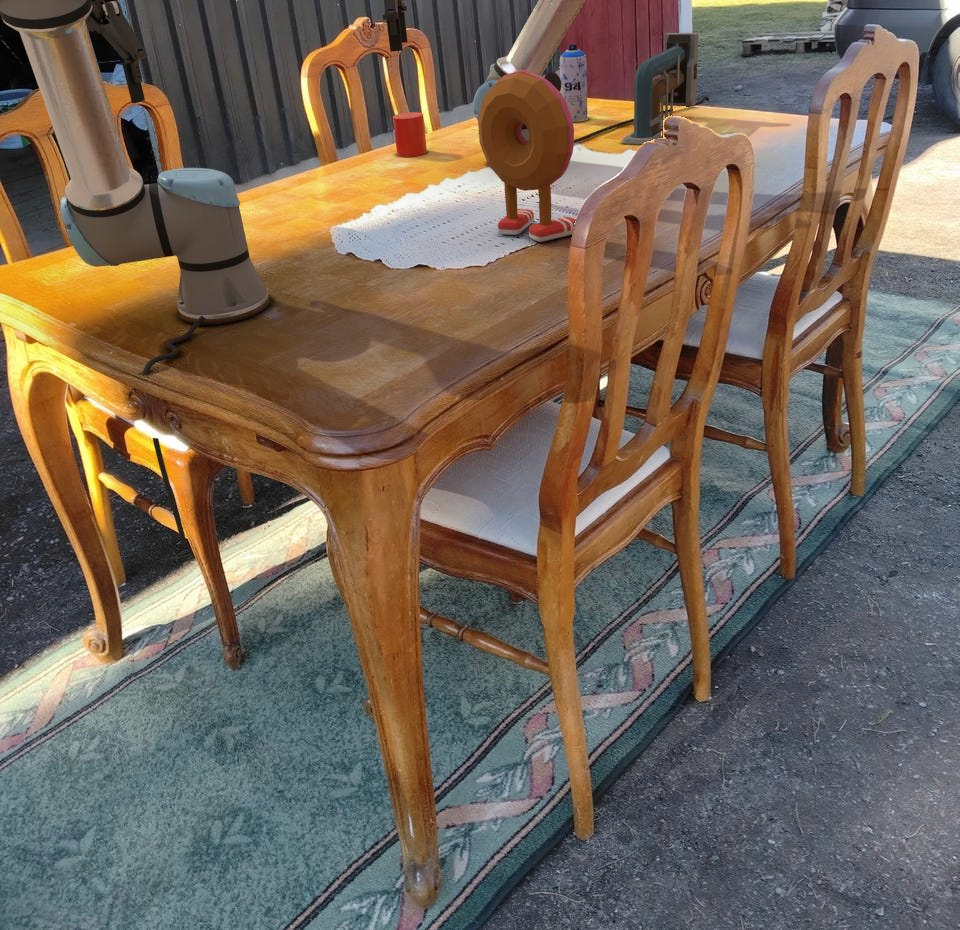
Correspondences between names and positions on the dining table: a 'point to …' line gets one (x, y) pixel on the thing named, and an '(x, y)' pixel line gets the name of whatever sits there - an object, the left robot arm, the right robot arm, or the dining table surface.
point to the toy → (528, 147)
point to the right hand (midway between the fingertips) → (399, 46)
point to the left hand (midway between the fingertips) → (109, 102)
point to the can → (410, 134)
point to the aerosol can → (574, 82)
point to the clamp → (664, 85)
